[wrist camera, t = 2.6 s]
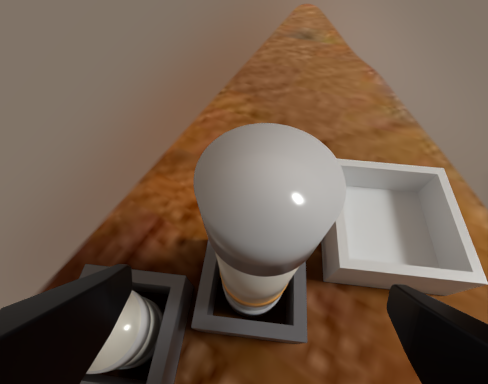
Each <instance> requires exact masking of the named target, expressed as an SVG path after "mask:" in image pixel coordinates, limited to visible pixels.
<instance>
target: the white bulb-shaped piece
mask: <svg viewBox="0 0 488 384" xmlns="http://www.w3.org/2000/svg"><path fill="white" fill-rule="evenodd" d="M194 191H195V196H196V199H197V202H198V206H199V209H200V213H201V216H202V219H203V223H204V226H205V229H206V233H207V236H208V239H209V242H210V244H211V246H212V248H213V249H214V251H215V254H216V258H217V261H218V265H219V269H220V276H221V280H222V286H223V290H224V293H225V296H226V299H227V302H228V303H229V305H230V306H231V308H232V309H233V310H234V311H236V312H237V313H238V314H240V315H242V316H245V317H260V316H262V315H265V314H266V313H268V312H269V311H270V310H271V309H272V308H273V307H274V306H275V304H276V303H277V302H278V300H279V299H280V297H281V295H282V293H283V291H284V290H285V289H286V287H287V285H288V283H289V281H290V279H291V278H292V276H293V275H294V273H295V272H296V270H297V269H298V268H299V266H300V265H302V264H303V263H304V262H305V261H306V260H307V259H308V258H309V257H310V256H311V254H312V253H313V252H314V250H315V249H316V247H317V246H318V245H319V243H320V242H321V240H322V239H323V238H324V236H325V235H326V233H327V232H328V231H329V229H330V228H331V226H332V225H333V224H334V222H335V221H336V220H337V218H338V217H339V215H340V213H341V211H342V209H343V206H344V202H345V197H346V182H345V177H344V173H343V171H342V168H341V166H340V164H339V162H338V160H337V159H336V157H335V156H334V155H333V153H332V152H331V151H330V150H329V149H328V148H327V147H326V146H325V145H324V144H323V143H322V142H321V141H319V140H318V139H316V138H315V137H313V136H311V135H310V134H308V133H306V132H304V131H301V130H299V129H296V128H293V127H290V126H286V125H281V124H273V123H259V124H250V125H245V126H241V127H238V128H235V129H233V130H230V131H228V132H226V133H224V134H223V135H221V136H220V137H218V138H217V139H216V140H214V141H213V142H212V143H211V144H210V145H209V146H208V147H207V148H206V149H205V151H204V152H203V153H202V155H201V157H200V159H199V161H198V163H197V166H196V169H195V174H194Z"/></svg>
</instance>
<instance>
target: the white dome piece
mask: <svg viewBox="0 0 488 384" xmlns="http://www.w3.org/2000/svg"><path fill="white" fill-rule="evenodd" d="M163 316H164V312H163V311H162V309H161V308H160V307H159V306H158V305H157V304H156V303H154V302H153V301H151V300H149V299H147V298H145V297H142V296H141V295H140V294H138V293H137V292H135V291H133V290H132V292H131V294H130V296H129V298H128V300H127V302H126V304H125V306H124V308H123V310H122V312H121V314H120V316H119V318H118V321H117V323H116V325H115V327H114V329H113V330H112V332H111V334H110V336H109V337H108V339H107V341H106V342H105V344H104V346H103V347H102V349H101V350H100V352H99V354H98V355H97V357H96V359H95V360H94V362H93V363H92V365H91V367H90V368H89V370H88V371H87V373H86V374H97V373H103V372H109V371H113V370H116V369H120V370H121V369H129V368H135V367H139V366H141V365H143V364H145V363H147V362H148V361H149V360H151V359H152V358H153V355H154V351H155V347H156V343H157V339H158V335H159V331H160V327H161V324H162V320H163Z"/></svg>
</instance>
